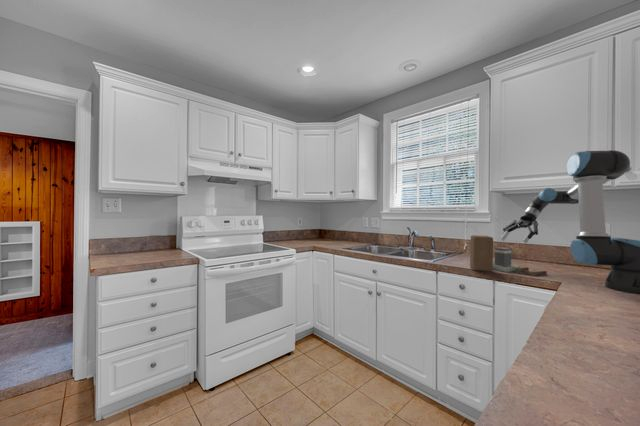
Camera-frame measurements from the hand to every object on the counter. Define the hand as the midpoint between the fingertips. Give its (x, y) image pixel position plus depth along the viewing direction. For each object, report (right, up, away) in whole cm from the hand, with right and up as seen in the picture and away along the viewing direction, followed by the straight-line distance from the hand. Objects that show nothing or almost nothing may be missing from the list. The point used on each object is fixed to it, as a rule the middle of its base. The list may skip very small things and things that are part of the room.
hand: (513, 240), depth 171 cm
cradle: (+1, -17, -13) cm, 22 cm away
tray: (-8, -17, -3) cm, 19 cm away
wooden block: (-22, -17, -5) cm, 29 cm away
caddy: (-8, -16, -3) cm, 18 cm away
